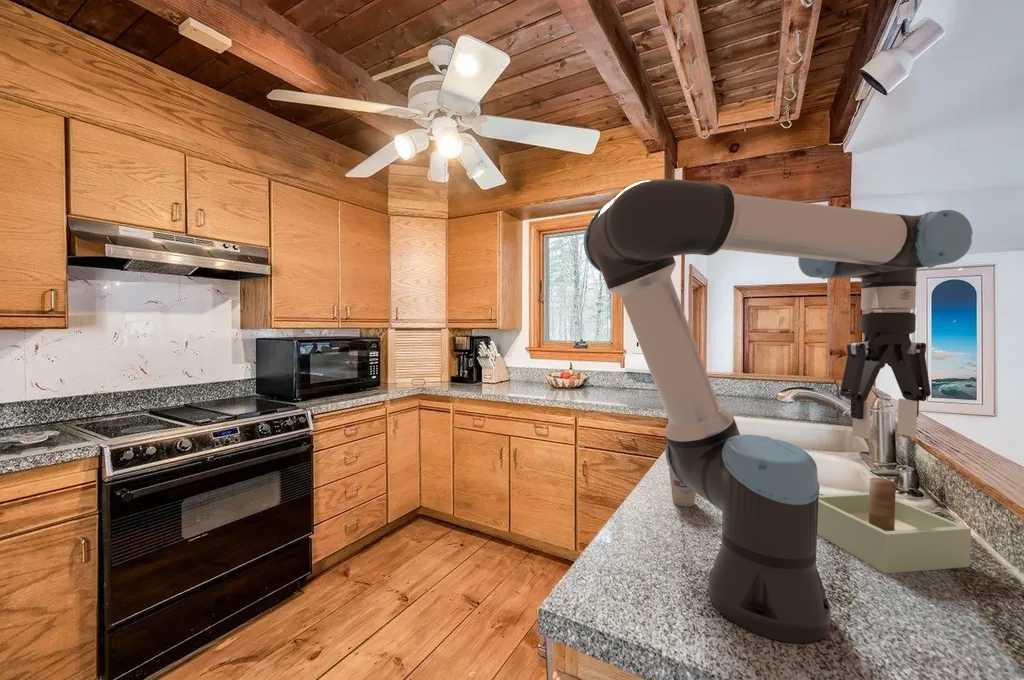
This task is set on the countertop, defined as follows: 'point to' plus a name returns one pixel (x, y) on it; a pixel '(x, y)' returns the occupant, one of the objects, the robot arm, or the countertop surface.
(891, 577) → the countertop surface
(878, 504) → the peg
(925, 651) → the countertop surface
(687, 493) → the coffee cup
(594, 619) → the countertop surface
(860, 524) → the peg box
